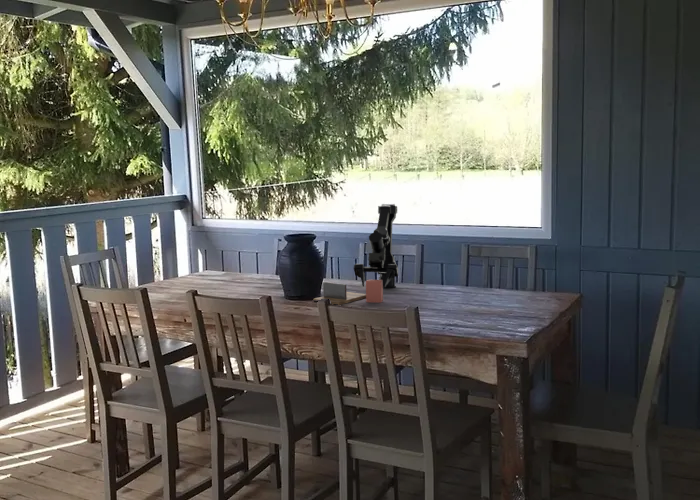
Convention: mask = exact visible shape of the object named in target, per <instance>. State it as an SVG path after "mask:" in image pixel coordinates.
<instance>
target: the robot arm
mask: <svg viewBox="0 0 700 500" xmlns="http://www.w3.org/2000/svg"><path fill="white" fill-rule="evenodd" d="M377 207H378V209H377V213H378V214H379V215H378V216H379V217H378V220H377V221H378V222H377V227H376V228H375V229H374V230H373V232H372V233H370V234H369V236H368V240H369V245H370V248H371V252H369V253H368V260H367V261H368V265H369V266H364V263H355V264H354V265H353V272H354V275H355V277H358V278H360V280H361V285H362V287H365V283H366V280H365V279H366V278H365V277H366V275H365V274H366V273H377V275H379V277H378V280H383V289H387V288H388V289H389V288H396V287H397V285H395V283H396V280H395V278H397V277H398V276H399V267H398V265H397V263H396V261H395V259H396V258H395V257H394V255H393V254H392V252H393V251H392V248H393V247H392V245H393V222H395V219H396V218H397V214H398V206H397V205H396V204H395V203H381V205H378V206H377Z"/></svg>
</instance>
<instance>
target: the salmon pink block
mask: <svg viewBox="0 0 700 500" xmlns="http://www.w3.org/2000/svg"><path fill="white" fill-rule="evenodd" d="M365 294H366V298H365V302H366V303H378V304H379V303H383V301H384V288H383V280H379V279H366V280H365Z"/></svg>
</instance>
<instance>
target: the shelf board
mask: <svg viewBox="0 0 700 500" xmlns="http://www.w3.org/2000/svg"><path fill="white" fill-rule="evenodd" d="M346 293H347V299H346V300H343V299H335V298H328V297H324V296H320V297H315V298H312V299H313V300H321V299H330V301H331V303H332V304H331V305H334V304H338V305H337V306H340V305H344V304H349V303H352V302H355V301H359V300H362V299H366V293H359V292H358V293H357V292H350V291H346Z"/></svg>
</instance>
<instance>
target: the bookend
mask: <svg viewBox="0 0 700 500" xmlns="http://www.w3.org/2000/svg"><path fill="white" fill-rule="evenodd" d="M322 288H323V289H322V290H323V291H322V292H323V294H322V295H323V296H324V297H328V298H335V299H343V300H346V299H347V293H346V292H347V284H346V283H337V282H330V281H323V282H322Z"/></svg>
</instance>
